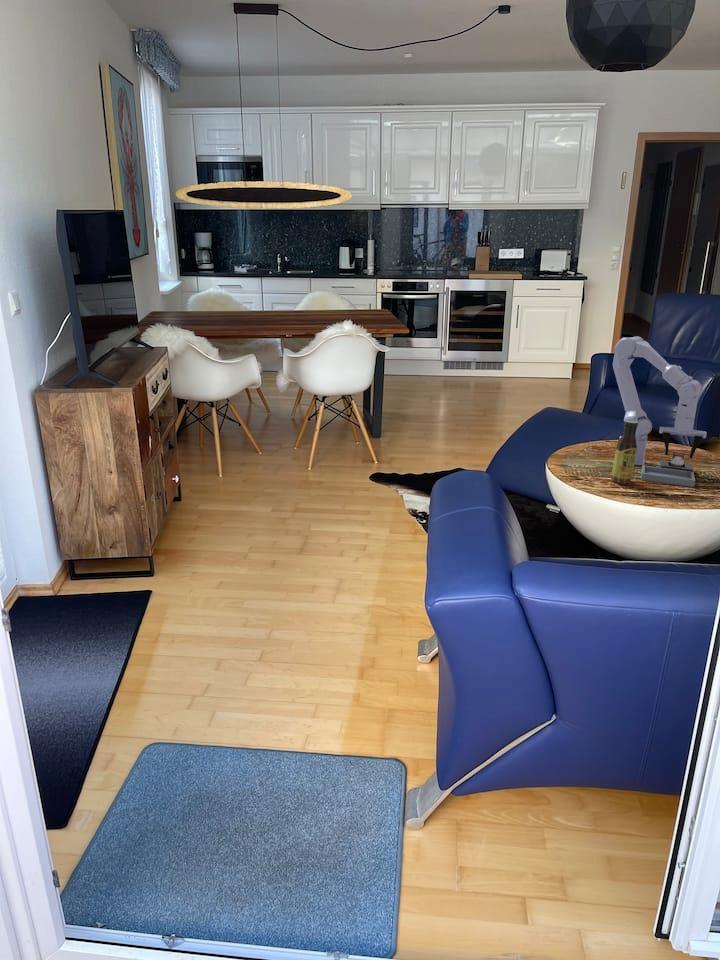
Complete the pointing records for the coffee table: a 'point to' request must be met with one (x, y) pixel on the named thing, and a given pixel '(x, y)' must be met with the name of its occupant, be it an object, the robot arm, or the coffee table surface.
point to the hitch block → (685, 467)
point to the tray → (668, 476)
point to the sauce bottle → (625, 454)
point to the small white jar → (677, 458)
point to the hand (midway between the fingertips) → (678, 456)
